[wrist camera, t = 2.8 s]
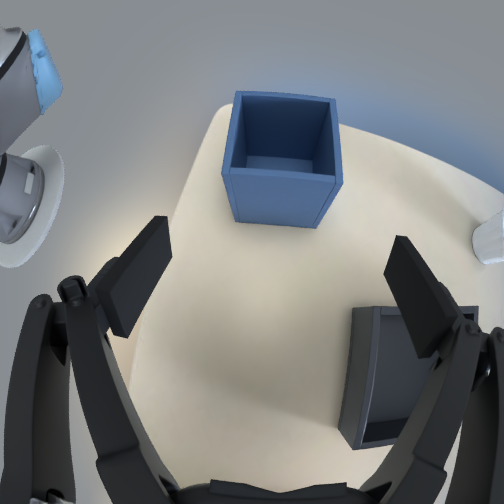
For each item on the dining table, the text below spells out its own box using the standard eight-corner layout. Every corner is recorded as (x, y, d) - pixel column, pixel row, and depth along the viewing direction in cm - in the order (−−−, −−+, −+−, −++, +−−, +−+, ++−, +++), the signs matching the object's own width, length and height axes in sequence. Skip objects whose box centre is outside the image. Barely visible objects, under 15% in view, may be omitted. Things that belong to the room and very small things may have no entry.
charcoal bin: (337, 428, 24) (352, 450, 19) (352, 308, 27) (373, 306, 22) (435, 414, 24) (461, 426, 18) (449, 308, 27) (478, 305, 21)
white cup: (496, 272, 27) (528, 262, 20) (469, 264, 28) (502, 252, 21) (495, 228, 29) (523, 214, 22) (468, 217, 29) (497, 200, 22)
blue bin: (235, 222, 30) (221, 173, 19) (243, 153, 32) (235, 90, 21) (316, 228, 29) (343, 183, 19) (316, 159, 31) (335, 98, 21)
